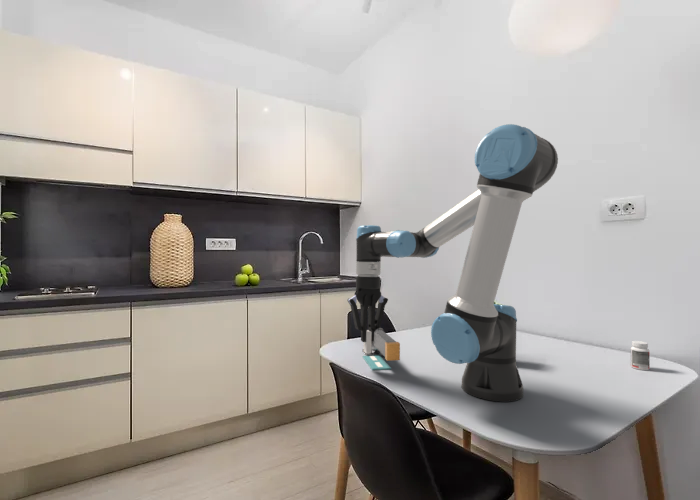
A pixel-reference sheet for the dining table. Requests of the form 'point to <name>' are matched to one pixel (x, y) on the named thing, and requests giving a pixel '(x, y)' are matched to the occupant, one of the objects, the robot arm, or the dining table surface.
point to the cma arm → (386, 345)
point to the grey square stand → (374, 352)
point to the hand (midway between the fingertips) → (367, 352)
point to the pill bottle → (640, 355)
